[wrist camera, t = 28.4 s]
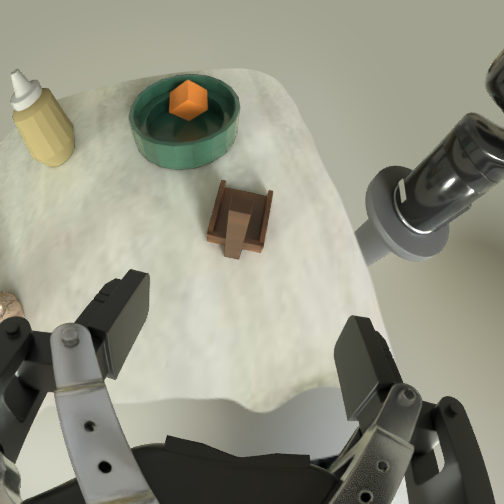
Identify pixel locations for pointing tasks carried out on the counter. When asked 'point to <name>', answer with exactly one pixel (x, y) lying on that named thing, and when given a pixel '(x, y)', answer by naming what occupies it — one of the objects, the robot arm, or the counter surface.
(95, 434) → the robot arm
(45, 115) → the squeeze bottle
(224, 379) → the counter surface
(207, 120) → the green pet bowl
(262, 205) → the scoop
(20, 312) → the figurine
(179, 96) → the block
